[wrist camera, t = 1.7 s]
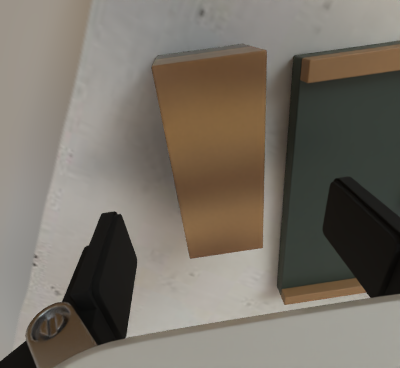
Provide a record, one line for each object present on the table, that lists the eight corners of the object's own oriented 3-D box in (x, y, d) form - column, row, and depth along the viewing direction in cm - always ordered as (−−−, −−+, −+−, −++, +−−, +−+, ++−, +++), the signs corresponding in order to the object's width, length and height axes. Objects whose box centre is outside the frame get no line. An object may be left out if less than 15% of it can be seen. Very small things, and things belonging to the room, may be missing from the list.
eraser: (156, 55, 15) (150, 66, 11) (243, 43, 15) (267, 49, 11) (187, 216, 21) (189, 259, 17) (246, 208, 21) (263, 248, 17)
